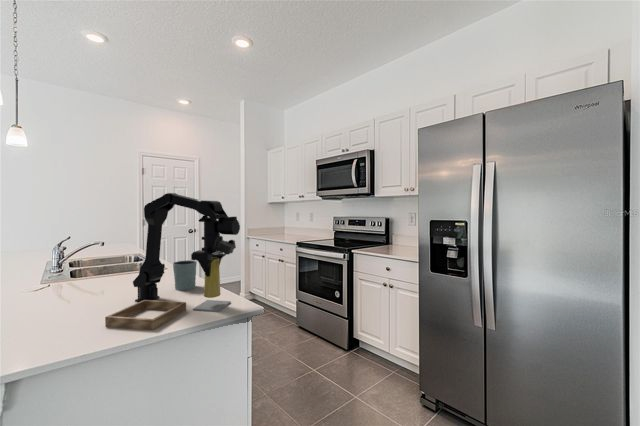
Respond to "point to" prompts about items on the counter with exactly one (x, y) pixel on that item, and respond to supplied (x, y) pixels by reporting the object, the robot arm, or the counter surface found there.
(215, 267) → the vase
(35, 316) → the counter surface
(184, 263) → the grey-blue cup
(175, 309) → the wooden frame
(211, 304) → the slate mat
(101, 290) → the counter surface
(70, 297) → the counter surface
